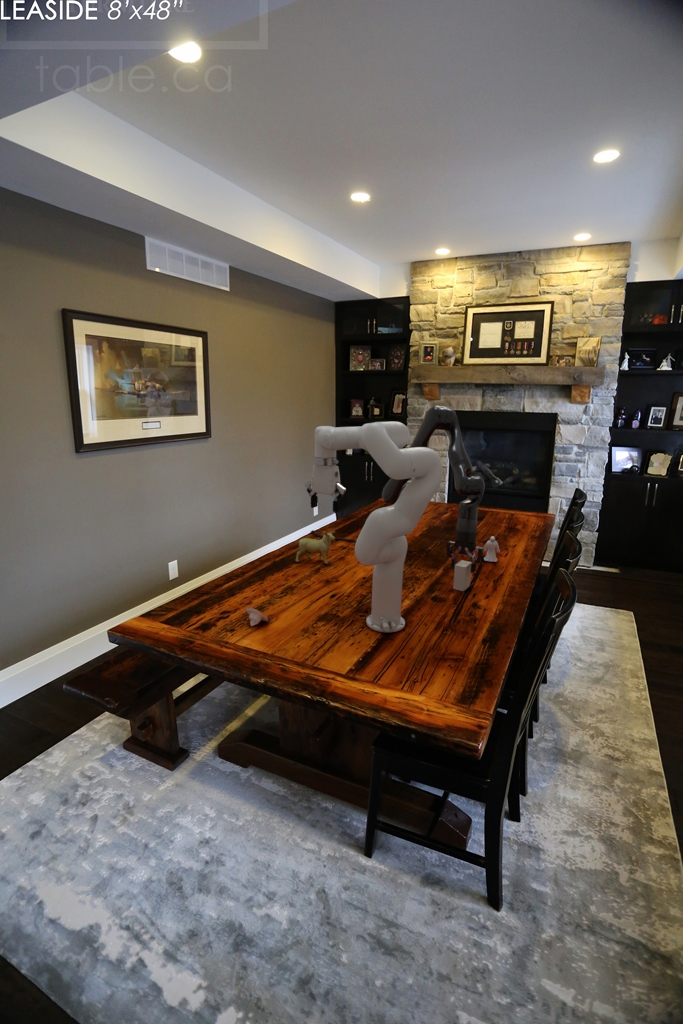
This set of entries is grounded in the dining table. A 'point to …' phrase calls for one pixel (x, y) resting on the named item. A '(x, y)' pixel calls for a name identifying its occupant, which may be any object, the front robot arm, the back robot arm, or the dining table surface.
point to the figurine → (491, 550)
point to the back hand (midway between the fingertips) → (463, 570)
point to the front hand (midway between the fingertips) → (324, 509)
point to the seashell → (255, 616)
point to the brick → (462, 575)
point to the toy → (315, 546)
